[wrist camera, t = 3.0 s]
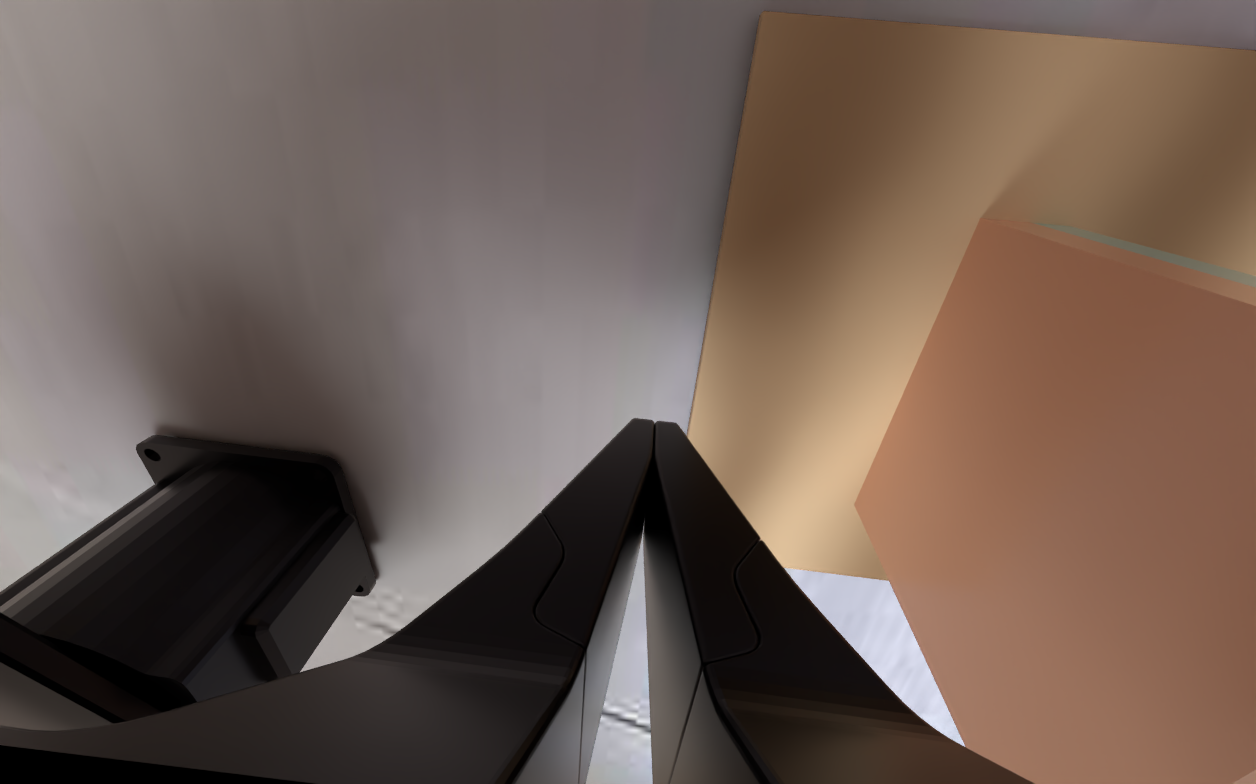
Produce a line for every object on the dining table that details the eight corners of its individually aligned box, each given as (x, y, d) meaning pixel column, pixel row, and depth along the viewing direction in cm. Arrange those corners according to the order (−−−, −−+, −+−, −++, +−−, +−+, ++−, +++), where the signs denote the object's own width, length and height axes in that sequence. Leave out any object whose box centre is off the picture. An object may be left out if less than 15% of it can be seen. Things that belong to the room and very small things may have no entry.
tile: (853, 504, 14) (1035, 898, 7) (980, 217, 10) (1766, 469, 3) (916, 512, 14) (1164, 917, 7) (1070, 226, 9) (2119, 508, 3)
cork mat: (667, 543, 16) (667, 553, 15) (759, 15, 9) (763, 11, 8) (1161, 605, 15) (1172, 616, 15) (1700, 91, 8) (1748, 90, 8)
